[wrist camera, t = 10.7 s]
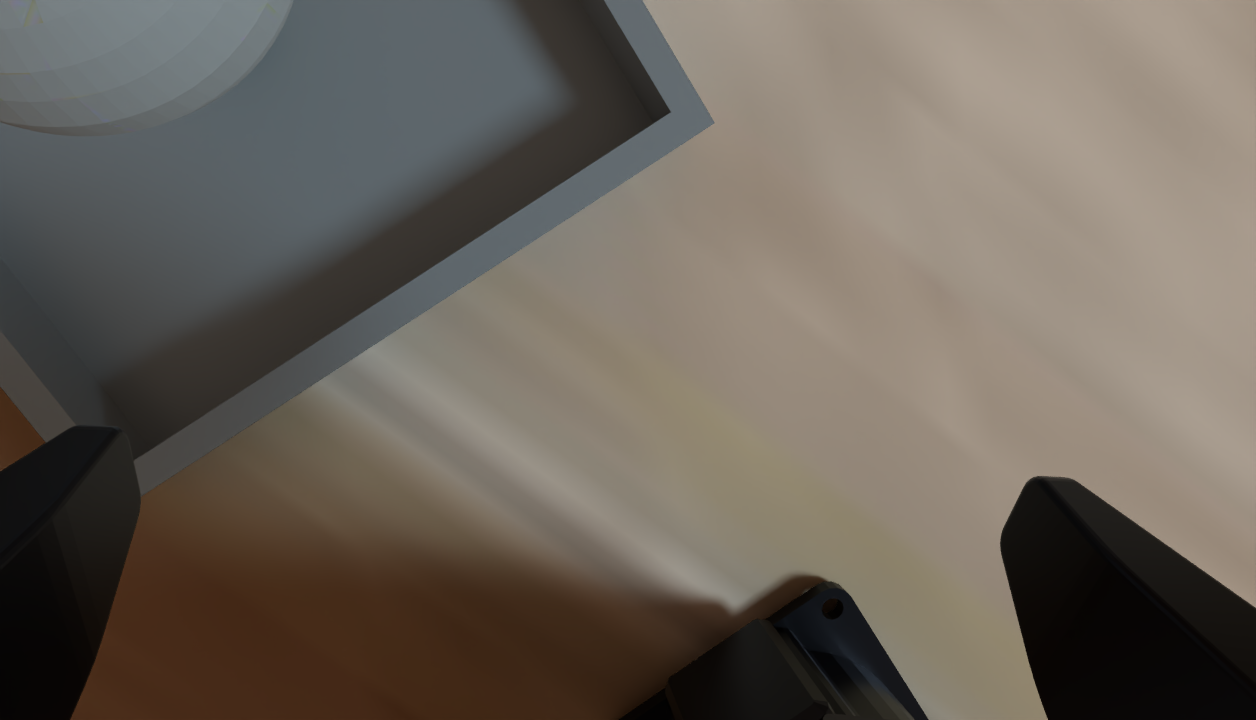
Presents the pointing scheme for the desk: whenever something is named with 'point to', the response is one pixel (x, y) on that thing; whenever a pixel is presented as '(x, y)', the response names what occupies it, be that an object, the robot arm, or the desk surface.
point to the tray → (312, 207)
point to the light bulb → (126, 59)
